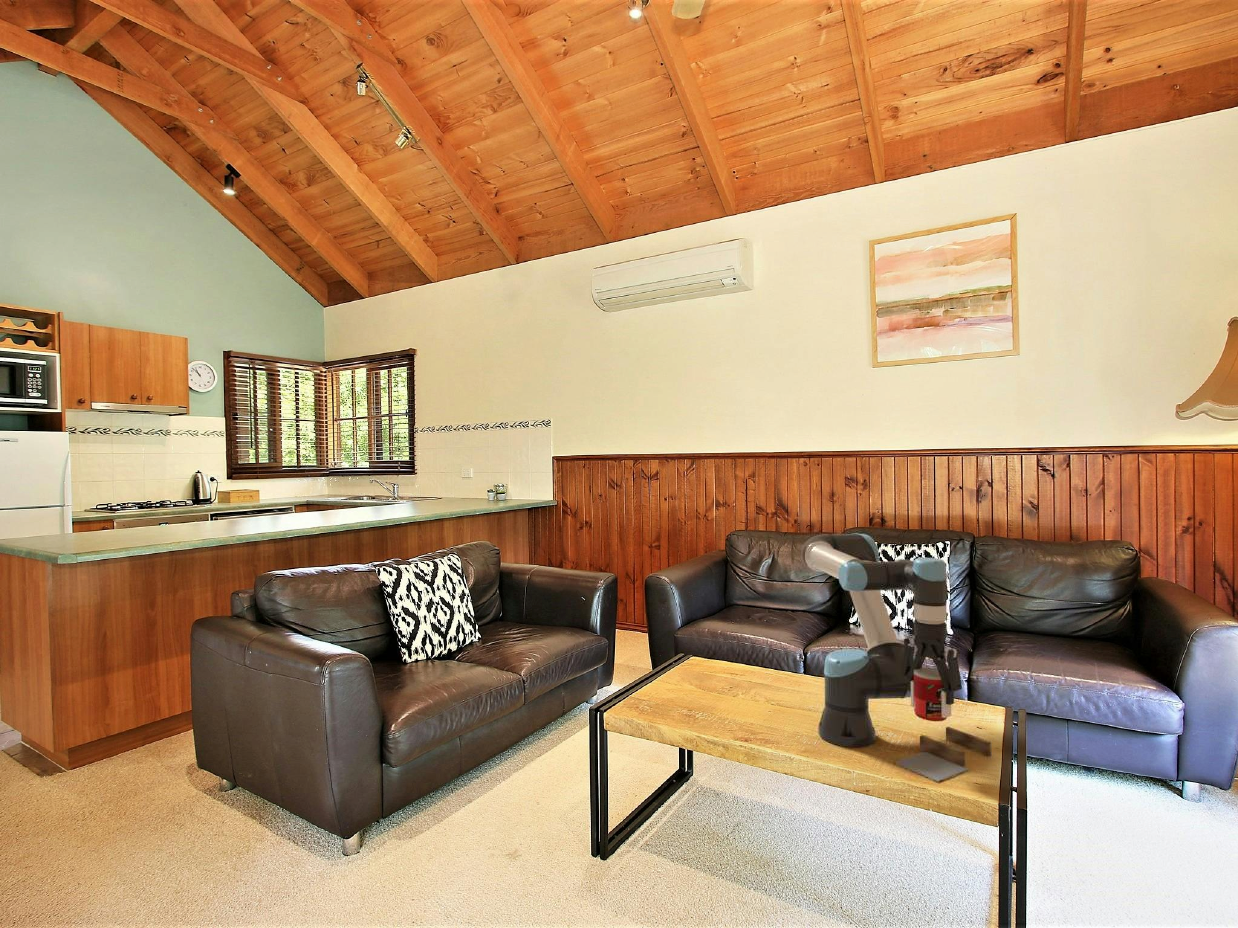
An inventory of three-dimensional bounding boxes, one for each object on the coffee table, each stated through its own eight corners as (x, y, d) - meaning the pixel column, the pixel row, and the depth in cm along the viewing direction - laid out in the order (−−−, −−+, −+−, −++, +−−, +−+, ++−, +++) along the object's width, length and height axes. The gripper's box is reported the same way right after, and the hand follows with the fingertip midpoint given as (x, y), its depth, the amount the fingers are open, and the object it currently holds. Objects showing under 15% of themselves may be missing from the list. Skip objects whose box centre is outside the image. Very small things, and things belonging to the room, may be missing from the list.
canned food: (929, 723, 165) (928, 678, 165) (906, 711, 173) (906, 668, 173) (955, 719, 167) (955, 675, 167) (932, 708, 175) (931, 666, 175)
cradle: (919, 749, 180) (919, 736, 180) (948, 739, 186) (948, 726, 186) (962, 766, 170) (962, 752, 170) (991, 755, 176) (991, 741, 176)
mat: (894, 763, 172) (894, 761, 172) (924, 752, 178) (924, 751, 178) (937, 782, 162) (937, 780, 162) (967, 770, 168) (967, 768, 168)
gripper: (978, 627, 163) (979, 721, 163) (903, 610, 180) (904, 695, 181) (959, 631, 159) (960, 727, 159) (885, 614, 177) (885, 701, 177)
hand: (930, 710), depth 170 cm, fingers closed on canned food, 8 cm apart
